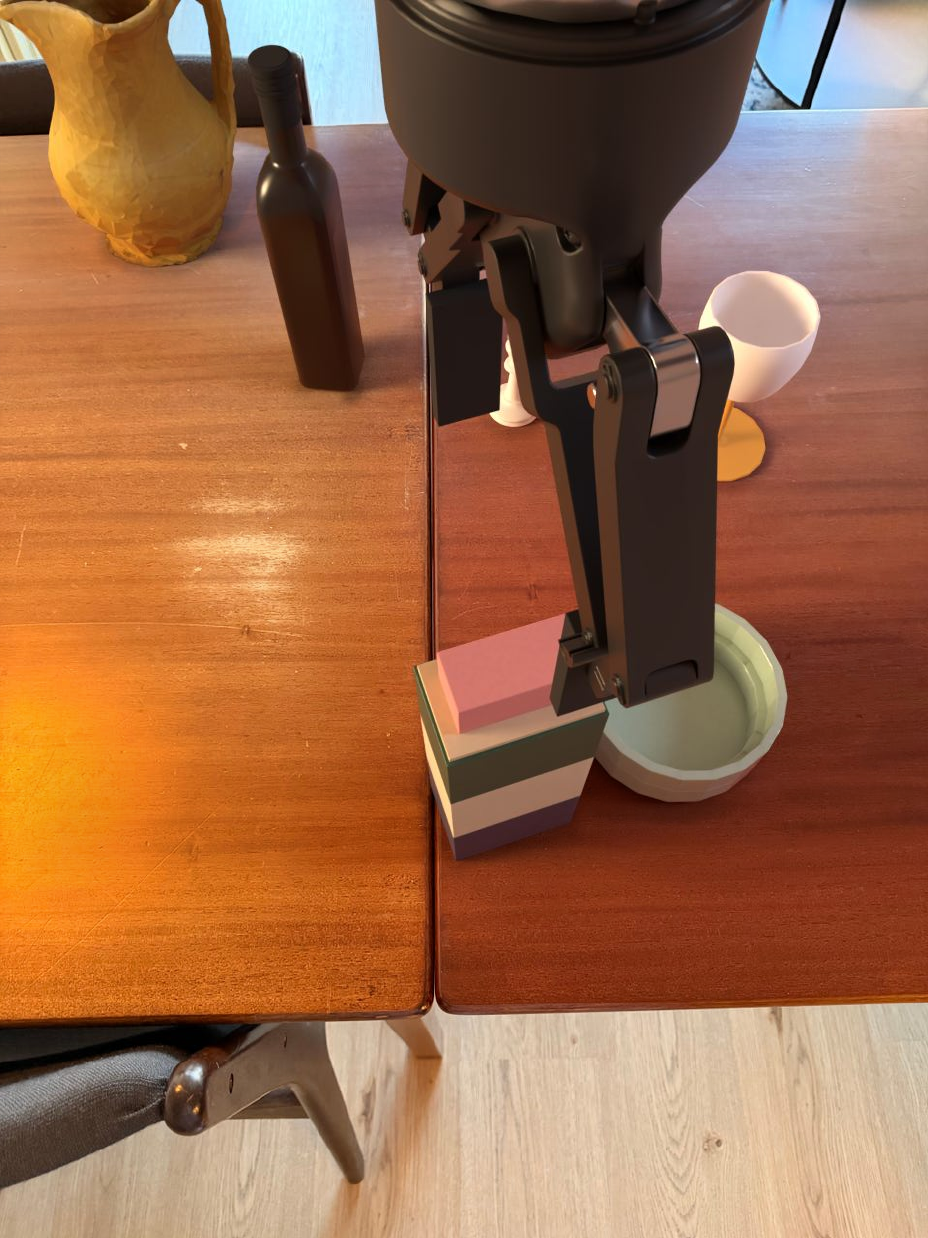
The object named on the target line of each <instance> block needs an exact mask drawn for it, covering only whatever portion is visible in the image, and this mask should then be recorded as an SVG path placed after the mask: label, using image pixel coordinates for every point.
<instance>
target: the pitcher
mask: <svg viewBox="0 0 928 1238" xmlns="http://www.w3.org/2000/svg"><path fill="white" fill-rule="evenodd" d="M181 1H182V0H0V19H1V20H3V21H5V22H6V23H8V24H10V25H12V26H13V27H15V28H16V29H17V30H19V31H20V33H22V34H23V35H24V36H25V37H26V38H27V39H28V40H30V42H31V43H32V44H33V45H34V47H35V48H36V50H37V51H38V53H39V54H40V56H41V58H42V59H43V61H44V63H45V65H46V68H47V70H48V73H49V75H50V78H51V81H52V85H53V89H54V105H53V106H54V108H53V112H52V117H51V122H50V126H49V127H50V128H49V134H48V138H49V139H48V153H47V155H48V160H49V166H50V170H51V173H52V177H53V179H54V181H55V183H56V186H57V187H58V190H59V192H60V195H61V197H62V199H64V200H65V201H66V202H67V204H68V206H69V208H70V209H71V210H72V212H73V213H74V214H75V215H76V216H77V217H78V218H79V219H80V220H81V221H82V222H84V223H87V224H88V225H91V226H92V227H94V228H95V229H96V230H99V231H100V232H101V233H104V234H105V238H104V240H105V242H106V243H105V245H106V247H107V249H108V251H109V253H110V254H112V255H114V256H115V257H118V258H121V259H122V260H123V261H126V263H127V262H128V263H132V264H135V265H140V266H141V265H142V266H144V267H148V268H153V267H157V268H158V267H162V266H174V265H175V264H176V265H183V264H184V263H188V262H193V261H194V260H196V259H197V258H198V257H199V256H201V255H202V254H203V253H206V252H207V251H208V249H209V248H211V247H212V245H215V244H216V241H217V239H218V237H219V235H220V233H221V231H222V227H223V225H224V221H223V220H224V217H223V214H224V213H225V211H226V209H227V205H228V203H229V199H230V195H231V192H232V188H233V175H232V172H233V168H234V163H235V157H234V148H235V138H236V135H237V133H238V127H237V125H238V120H237V111H236V104H235V99H234V93H235V87H236V84H235V81H234V76H233V54H232V49H231V41H230V35H229V29H228V25H227V17H226V15H225V11H224V6H223V2H222V0H195V1H196V2H197V3H198V4H200V5H201V6H202V9H203V14H204V18H205V21H206V25H207V35H208V40H209V49H210V63H211V64H210V65H211V66H210V67H211V81H212V94H213V99H207V98H206V97H205V96H204V95H203V94H202V93H201V92H200V91H198V90H197V88H196V87H195V86H194V84H192V83H191V81H189V80H188V78H187V77H186V76H185V74H184V73H183V71H182V69H181V68H180V66H179V65H178V64H179V63H177V61H176V58H175V55H174V53H173V49H172V47H171V45H170V42H169V29H170V21H171V19H172V18H173V16H174V14H175V12H176V9H177V7H178V6H179V4H180V2H181Z"/></svg>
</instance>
